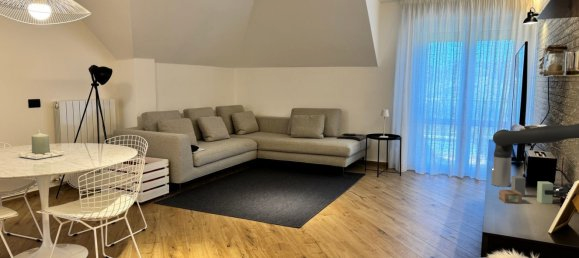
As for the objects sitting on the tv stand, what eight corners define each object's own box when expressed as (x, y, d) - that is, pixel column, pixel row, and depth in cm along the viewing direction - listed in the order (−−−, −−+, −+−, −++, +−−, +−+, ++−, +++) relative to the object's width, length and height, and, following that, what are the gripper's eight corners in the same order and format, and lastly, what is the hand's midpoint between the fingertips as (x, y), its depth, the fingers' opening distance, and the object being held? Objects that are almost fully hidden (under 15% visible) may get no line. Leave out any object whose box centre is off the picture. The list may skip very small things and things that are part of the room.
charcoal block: (514, 196, 211) (515, 178, 210) (511, 194, 216) (511, 176, 215) (524, 196, 210) (525, 178, 209) (520, 194, 215) (521, 176, 214)
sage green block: (541, 203, 198) (542, 183, 197) (536, 200, 203) (537, 181, 202) (552, 203, 197) (553, 183, 196) (547, 200, 202) (548, 181, 201)
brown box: (504, 203, 200) (505, 193, 199) (498, 199, 208) (499, 189, 207) (521, 203, 198) (522, 194, 198) (515, 199, 206) (515, 190, 206)
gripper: (569, 180, 204) (534, 179, 206) (585, 187, 190) (548, 186, 192) (568, 194, 205) (534, 193, 207) (584, 202, 191) (547, 201, 193)
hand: (540, 190), depth 200 cm, fingers open, 8 cm apart
